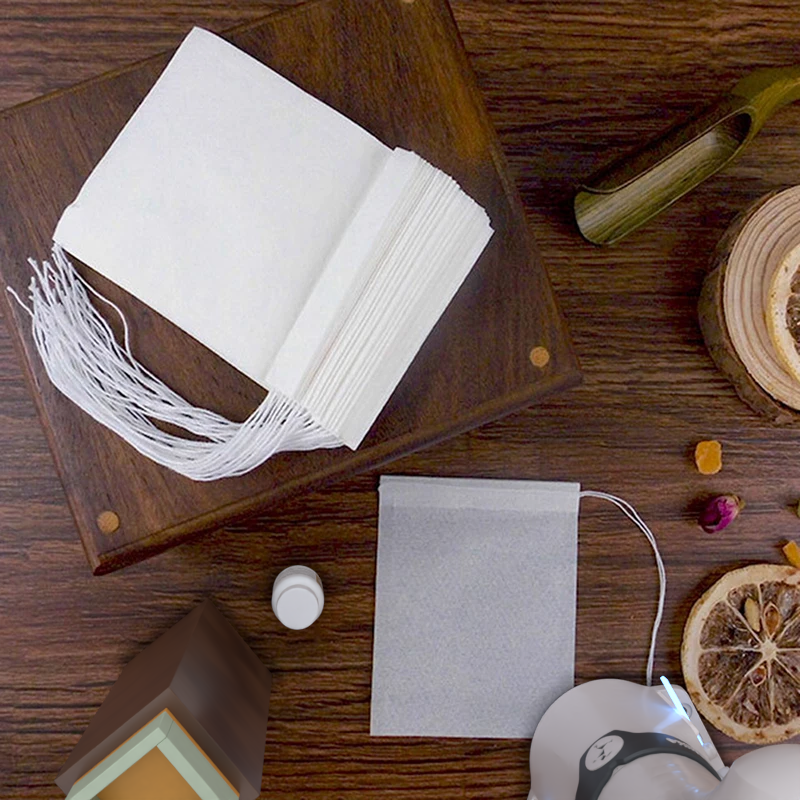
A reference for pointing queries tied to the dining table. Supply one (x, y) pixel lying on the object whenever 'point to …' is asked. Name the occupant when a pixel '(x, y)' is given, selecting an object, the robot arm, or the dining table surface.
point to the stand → (188, 700)
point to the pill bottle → (297, 597)
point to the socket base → (155, 768)
